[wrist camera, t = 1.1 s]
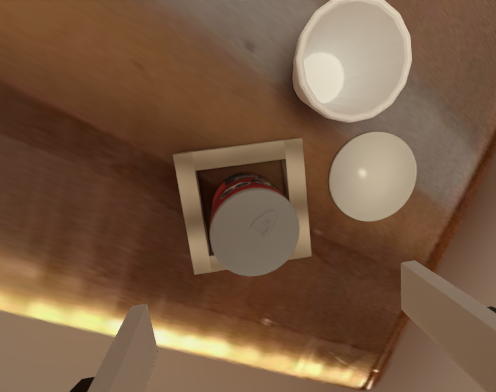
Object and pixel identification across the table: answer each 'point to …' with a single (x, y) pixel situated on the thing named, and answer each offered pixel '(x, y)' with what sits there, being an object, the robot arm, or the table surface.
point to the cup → (352, 59)
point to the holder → (232, 156)
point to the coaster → (372, 176)
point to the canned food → (252, 225)
